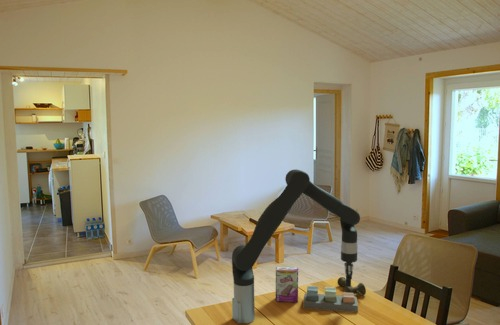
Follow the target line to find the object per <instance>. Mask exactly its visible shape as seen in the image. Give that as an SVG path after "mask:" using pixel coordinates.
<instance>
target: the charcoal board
mask: <svg viewBox="0 0 500 325" xmlns="http://www.w3.org/2000/svg"><path fill="white" fill-rule="evenodd" d="M303 297H304V298H303V309H312V310H324V311H326V310H327V311H337V312H352V313H358V312H359V305H358V299H357V296H355V295H354V304H352V303H343V295H337V294H336V302H328V301H325V295H324V293H322V294H321V293H318V301H313V300H307V292H306V293H305V292H304V296H303Z"/></svg>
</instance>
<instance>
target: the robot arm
mask: <svg viewBox="0 0 500 325" xmlns="http://www.w3.org/2000/svg"><path fill="white" fill-rule="evenodd" d="M284 179H285V184H286V186H285V188H284V189H283V190H282V192H281V193H280V195H279V196H277V197H276V198H275V199H274V200H272V201H271V203H270V204H268V205H267V206H266V208H265V209H264V210H263V212H262V214H261V215H260V216H259V217H258V220H257V222H256V224H255V227H254V230H253V233H252V235H251V237H250V239H249V240H248V242H247V243H246V244H245V245H244V244H240V245H238V246H237V247H235V248H234V249H233V251H232V255H231V267H232V268H231V270H232V278H233V298H231V305H232V309H231V310H232V312H231V313H232V319H233V320H234V321H235V322H236V324H249V323H253V322H254V321H255V318H256V317H255V315H256V313H255V309H256V308H255V274H254V271H253V267H254V265H255V264H256V263H257V260H258V259H259V257H260V254H261V253H262V252H263V249H264V248H265V246H267V244H268V242H269V241H270V239H271V238H272V237H273V235H274V234H275V232H276V231H277V230H278V229H279V227H280V225H281V224H282V223H283V221H284V219H285V218H286V216H287V215H288V214H289V212H290V211H291V208H292V207H293V206H294V204H295V202H297V200H298V199H299V198H300V197H301V195H303V194H304V195H305V196H307V197H309V198H310V199H312V200H313V201H314V202H316V203H317V204H318V205H320V206H321V207H322V208H324V210H327V211H328V212H329V213H331V214H333V215H335V216H337V217H338V218H339V221H340V222H339V223H340V229H341V244H340V260H341V261H342V262H344V274H345V279H346V286H347V287H350V286H352V280H353V278H352V277H353V273H354V272H353V271H354V263H356V262H357V261H358V231H357V229H356V227H355V226H357V225H358V224H359V223H360V221H361V215H360V213H359V212H358V211H357V210H355V209H354V208H352V207H351V206H349V205H347V204H346V203H344V202H343V201H341V199H339V198H337V197H336V196H335V195H333V194H331V193H330V192H328V191H326V190H324V189H323V188H321V187H319V186H318V185H316V184H314V183H313V182H312V181H311V180H310V179H311V178H310V176H309V174H308V173H307V172H306V171H303V170H300V169H297V168H296V169H292V170H291V169H290V170H289V171H287V173H286V174H285V178H284Z"/></svg>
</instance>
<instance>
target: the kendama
mask: <svg viewBox="0 0 500 325" xmlns="http://www.w3.org/2000/svg"><path fill="white" fill-rule="evenodd" d="M337 285H338V286H339V287H342V288H344V292H346V293H354V295H356V294H357V295H359V296H365V295H366V294H367V288H366V286H365V284H363V282H359V283H358V284H357V285H356V286H352V285H351V286H350V287H347V286H346V277H345V276H340V277H339V278H338V279H337Z"/></svg>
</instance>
